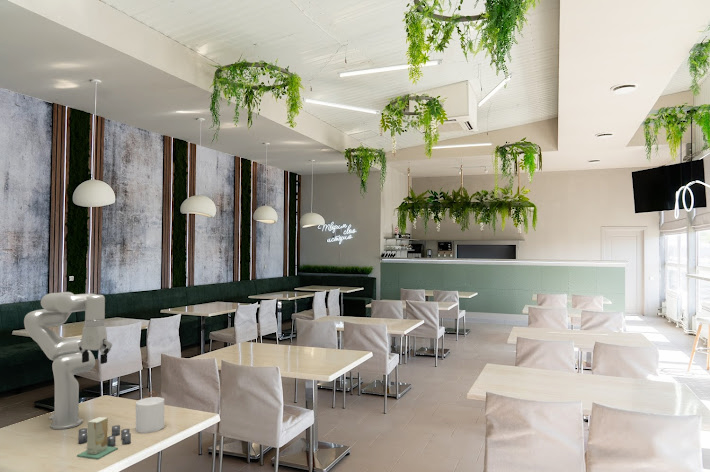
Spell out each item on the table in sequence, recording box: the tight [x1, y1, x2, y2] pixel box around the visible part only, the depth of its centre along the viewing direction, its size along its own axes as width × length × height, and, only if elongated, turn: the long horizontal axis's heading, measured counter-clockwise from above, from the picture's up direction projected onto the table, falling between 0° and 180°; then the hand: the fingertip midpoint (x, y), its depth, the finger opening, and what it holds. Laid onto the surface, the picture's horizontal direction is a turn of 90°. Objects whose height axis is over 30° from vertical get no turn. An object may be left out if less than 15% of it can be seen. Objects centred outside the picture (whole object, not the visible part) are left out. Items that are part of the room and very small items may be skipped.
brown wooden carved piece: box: [142, 390, 157, 399], centre depth 233 cm, size 9×4×12 cm, turn 122°
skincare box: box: [86, 416, 109, 454], centre depth 192 cm, size 6×4×12 cm
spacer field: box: [78, 424, 132, 447], centre depth 204 cm, size 25×16×4 cm, turn 74°
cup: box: [135, 396, 165, 434], centre depth 218 cm, size 12×12×12 cm
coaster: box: [76, 446, 119, 460], centre depth 192 cm, size 10×10×1 cm
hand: (94, 362), depth 214 cm, fingers open, 9 cm apart
